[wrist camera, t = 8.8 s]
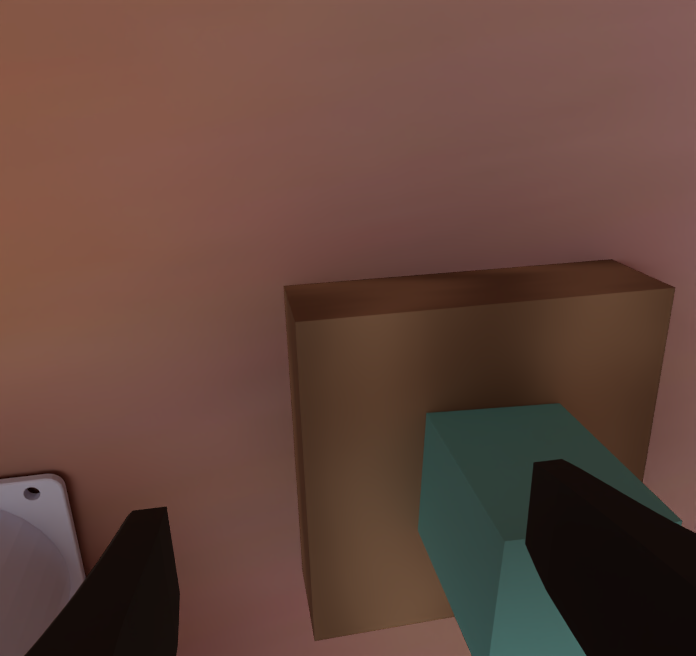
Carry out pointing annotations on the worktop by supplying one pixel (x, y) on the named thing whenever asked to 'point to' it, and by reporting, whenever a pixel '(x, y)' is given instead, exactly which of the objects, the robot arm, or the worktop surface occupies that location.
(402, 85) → the worktop surface
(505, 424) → the teal block
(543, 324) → the walnut base
